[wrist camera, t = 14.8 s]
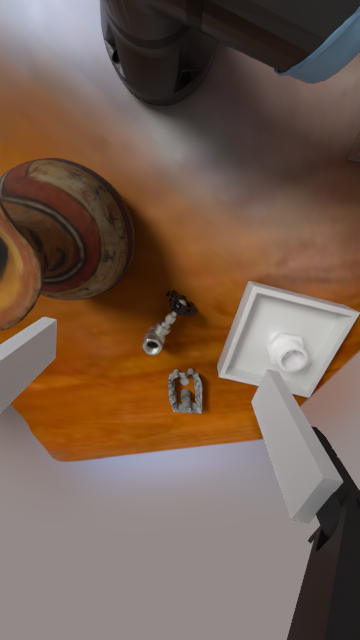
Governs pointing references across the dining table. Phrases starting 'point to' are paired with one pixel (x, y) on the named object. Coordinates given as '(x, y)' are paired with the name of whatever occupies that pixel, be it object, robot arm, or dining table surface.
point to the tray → (289, 317)
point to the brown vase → (59, 235)
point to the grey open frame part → (185, 392)
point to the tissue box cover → (355, 150)
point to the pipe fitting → (287, 351)
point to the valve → (166, 323)
